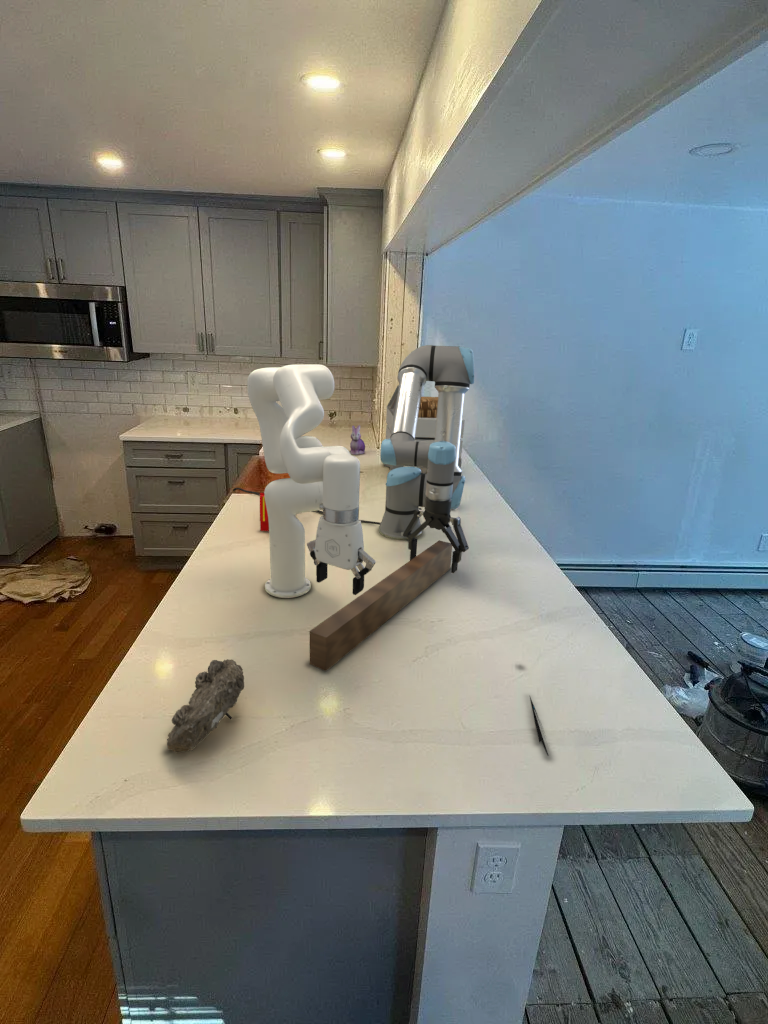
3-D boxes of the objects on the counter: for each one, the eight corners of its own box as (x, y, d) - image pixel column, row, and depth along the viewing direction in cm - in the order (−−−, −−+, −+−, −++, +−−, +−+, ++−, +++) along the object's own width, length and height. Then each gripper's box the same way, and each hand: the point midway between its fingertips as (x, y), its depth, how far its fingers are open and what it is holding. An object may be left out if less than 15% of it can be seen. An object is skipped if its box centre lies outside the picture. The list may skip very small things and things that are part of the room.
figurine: (353, 455, 301) (353, 427, 296) (345, 451, 309) (345, 424, 304) (369, 454, 305) (370, 426, 300) (361, 450, 314) (361, 423, 308)
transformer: (382, 463, 289) (386, 382, 275) (445, 464, 293) (451, 384, 279) (390, 482, 257) (394, 392, 243) (460, 483, 261) (468, 394, 247)
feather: (521, 671, 128) (526, 665, 127) (548, 760, 101) (555, 753, 101) (514, 667, 128) (520, 661, 127) (540, 755, 101) (547, 748, 101)
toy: (300, 481, 221) (289, 494, 192) (300, 514, 224) (289, 533, 194) (268, 480, 221) (253, 493, 191) (269, 514, 223) (254, 532, 194)
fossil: (192, 660, 117) (244, 628, 112) (224, 691, 120) (276, 661, 115) (142, 746, 98) (202, 712, 93) (182, 779, 101) (242, 748, 96)
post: (436, 565, 177) (439, 540, 174) (450, 569, 175) (452, 543, 172) (309, 664, 125) (309, 630, 122) (326, 671, 123) (326, 637, 120)
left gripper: (297, 509, 120) (298, 581, 126) (365, 527, 112) (362, 604, 118) (319, 500, 126) (318, 570, 132) (385, 517, 118) (381, 590, 124)
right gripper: (394, 492, 164) (390, 559, 171) (474, 509, 152) (466, 581, 159) (406, 486, 170) (402, 551, 177) (484, 502, 158) (477, 572, 165)
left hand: (339, 586), depth 125 cm, fingers open, 9 cm apart
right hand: (433, 565), depth 168 cm, fingers open, 13 cm apart
